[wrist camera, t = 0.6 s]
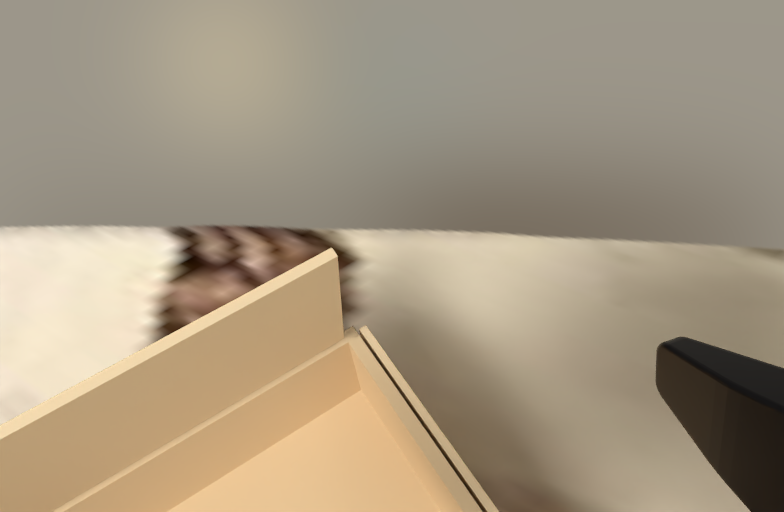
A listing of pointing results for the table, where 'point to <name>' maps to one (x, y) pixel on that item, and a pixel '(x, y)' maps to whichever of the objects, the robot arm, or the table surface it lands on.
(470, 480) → the carton
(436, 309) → the table surface
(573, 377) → the table surface
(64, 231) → the table surface
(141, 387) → the flap
